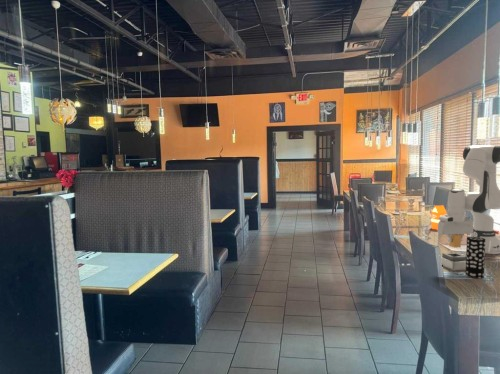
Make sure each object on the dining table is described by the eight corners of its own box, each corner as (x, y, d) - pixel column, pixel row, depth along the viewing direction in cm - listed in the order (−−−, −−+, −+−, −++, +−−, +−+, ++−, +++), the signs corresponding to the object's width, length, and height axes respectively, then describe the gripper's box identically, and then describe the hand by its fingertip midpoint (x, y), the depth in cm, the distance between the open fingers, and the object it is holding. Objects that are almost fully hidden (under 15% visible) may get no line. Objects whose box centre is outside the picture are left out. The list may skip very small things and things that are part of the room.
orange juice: (446, 229, 319) (446, 205, 317) (437, 229, 316) (438, 206, 315) (439, 227, 326) (440, 204, 324) (430, 228, 324) (431, 205, 322)
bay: (464, 261, 223) (464, 250, 223) (482, 268, 210) (482, 257, 209) (436, 263, 221) (437, 252, 220) (453, 270, 207) (453, 258, 206)
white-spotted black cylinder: (477, 273, 202) (478, 236, 200) (487, 278, 194) (489, 240, 192) (462, 273, 202) (463, 236, 200) (471, 278, 194) (473, 240, 192)
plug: (455, 245, 216) (456, 233, 215) (460, 247, 212) (461, 235, 211) (449, 246, 215) (449, 234, 215) (454, 247, 211) (454, 235, 211)
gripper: (468, 216, 217) (467, 239, 218) (436, 217, 214) (435, 241, 215) (476, 217, 211) (475, 242, 212) (443, 219, 208) (442, 243, 209)
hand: (455, 241), depth 213 cm, fingers closed on plug, 4 cm apart
